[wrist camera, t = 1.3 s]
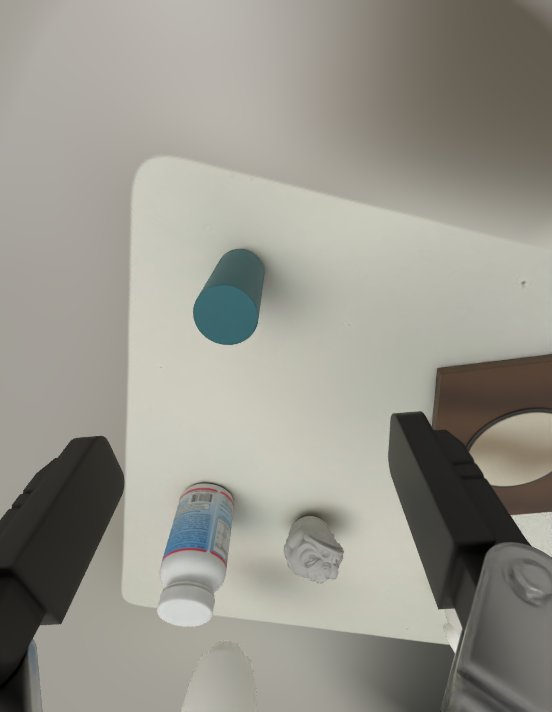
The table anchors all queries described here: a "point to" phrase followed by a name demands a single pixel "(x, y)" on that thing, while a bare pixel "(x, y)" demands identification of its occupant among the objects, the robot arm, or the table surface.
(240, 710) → the cup
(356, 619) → the table surface
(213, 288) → the teal cylinder
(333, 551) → the grey sculpted head figurine
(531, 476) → the wooden board with hole
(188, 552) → the pill bottle
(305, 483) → the table surface
